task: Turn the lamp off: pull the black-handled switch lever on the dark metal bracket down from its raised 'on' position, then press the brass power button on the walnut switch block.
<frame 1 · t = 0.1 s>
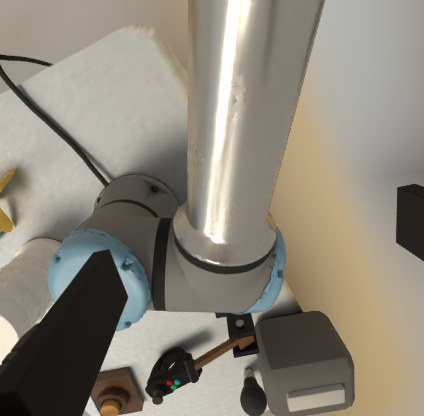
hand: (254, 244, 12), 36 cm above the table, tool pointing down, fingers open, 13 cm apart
switch block: (116, 388, 65), on the table
light bulb: (248, 369, 65), on the table
power button: (110, 408, 61), point 4 cm above the table, slide at 0.1 cm
lever: (219, 350, 45), point 13 cm above the table, hinge at 25.0°
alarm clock: (288, 328, 61), on the table
decorative container: (49, 264, 53), on the table
switch bracket: (235, 295, 57), on the table
controller: (176, 350, 62), on the table
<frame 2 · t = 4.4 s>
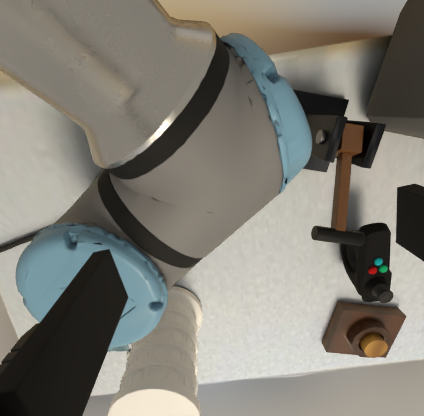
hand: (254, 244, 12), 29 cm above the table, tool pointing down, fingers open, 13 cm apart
switch block: (359, 325, 52), on the table
power button: (373, 345, 47), point 4 cm above the table, slide at 0.1 cm
lever: (342, 184, 28), point 13 cm above the table, hinge at 25.0°
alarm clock: (411, 71, 37), on the table
decorative container: (170, 311, 49), on the table
switch bracket: (307, 132, 39), on the table
controller: (348, 241, 45), on the table
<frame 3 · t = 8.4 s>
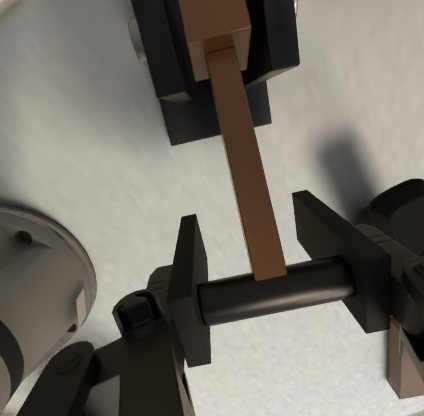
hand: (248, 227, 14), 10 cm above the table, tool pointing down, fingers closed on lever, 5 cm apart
lever: (239, 141, 10), point 13 cm above the table, hinge at 25.0°, touching gripper
switch bracket: (207, 66, 20), on the table
controller: (367, 222, 26), on the table
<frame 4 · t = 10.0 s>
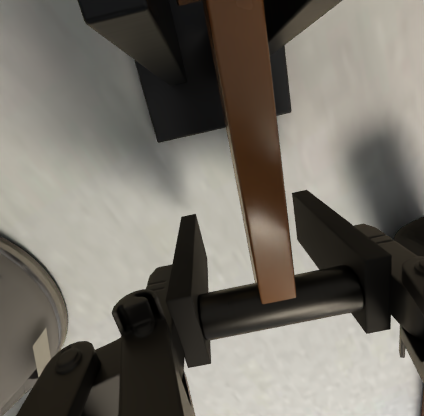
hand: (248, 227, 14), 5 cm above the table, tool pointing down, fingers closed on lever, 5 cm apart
lever: (252, 138, 7), point 11 cm above the table, hinge at -3.2°, touching gripper
switch bracket: (204, 35, 15), on the table
controller: (406, 239, 20), on the table
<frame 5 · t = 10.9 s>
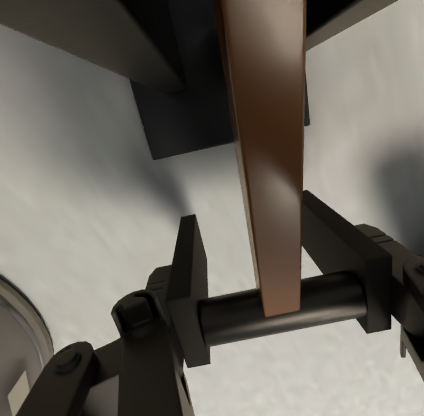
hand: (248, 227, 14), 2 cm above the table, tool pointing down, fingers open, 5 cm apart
lever: (267, 164, 5), point 10 cm above the table, hinge at -18.0°
switch bracket: (208, 35, 13), on the table
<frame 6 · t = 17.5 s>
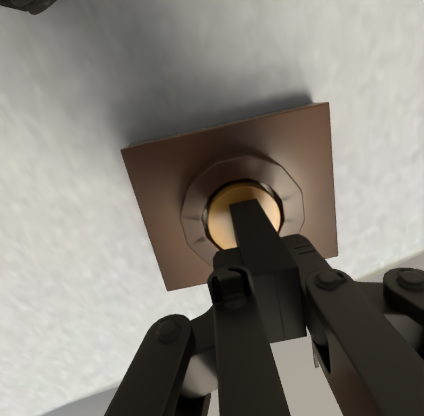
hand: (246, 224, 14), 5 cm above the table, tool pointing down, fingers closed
switch block: (234, 197, 19), on the table
power button: (242, 216, 16), point 4 cm above the table, slide at -0.8 cm, touching gripper
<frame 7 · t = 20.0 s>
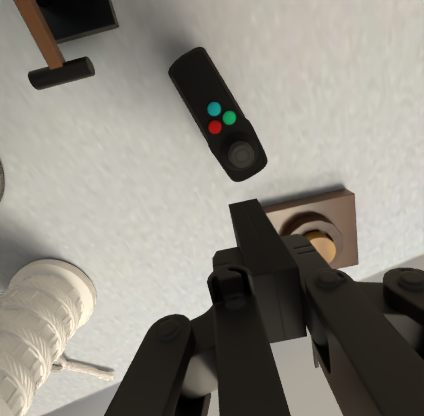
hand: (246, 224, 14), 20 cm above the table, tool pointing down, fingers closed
switch block: (303, 233, 36), on the table
power button: (315, 249, 32), point 4 cm above the table, slide at 0.1 cm
decorative container: (56, 293, 39), on the table
controller: (217, 117, 31), on the table
key: (76, 375, 44), on the table
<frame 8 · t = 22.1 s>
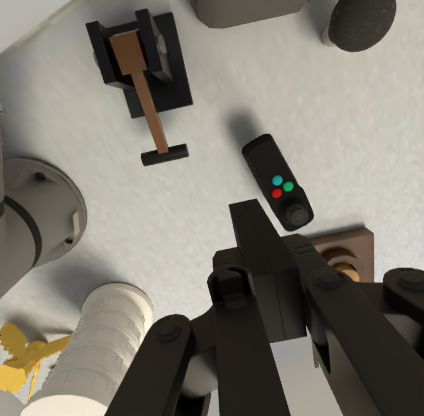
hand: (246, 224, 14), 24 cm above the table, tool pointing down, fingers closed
switch block: (329, 261, 44), on the table
light bulb: (328, 37, 33), on the table
power button: (342, 278, 40), point 4 cm above the table, slide at 0.1 cm
figurine: (5, 396, 39), point 9 cm above the table
lever: (148, 106, 26), point 10 cm above the table, hinge at -18.0°
decorative container: (119, 310, 46), on the table
switch bracket: (152, 69, 34), on the table
controller: (265, 172, 39), on the table
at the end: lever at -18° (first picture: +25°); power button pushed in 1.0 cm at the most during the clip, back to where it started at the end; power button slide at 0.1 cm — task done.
